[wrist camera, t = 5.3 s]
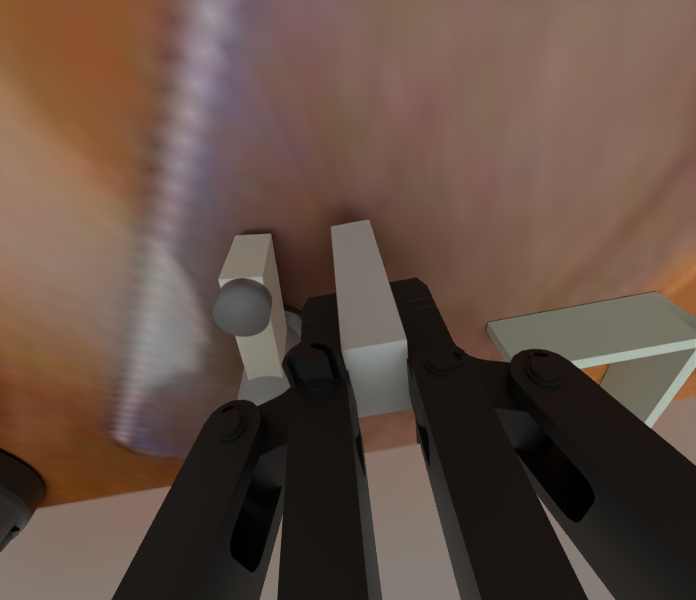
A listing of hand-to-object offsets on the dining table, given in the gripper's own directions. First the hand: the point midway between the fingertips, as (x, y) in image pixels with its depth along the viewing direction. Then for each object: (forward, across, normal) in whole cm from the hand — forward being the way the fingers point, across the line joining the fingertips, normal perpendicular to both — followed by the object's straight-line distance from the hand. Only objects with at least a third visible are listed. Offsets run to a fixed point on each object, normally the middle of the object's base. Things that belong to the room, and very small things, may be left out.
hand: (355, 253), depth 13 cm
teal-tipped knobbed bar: (+2, -6, -8) cm, 10 cm away
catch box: (+4, +13, -14) cm, 20 cm away
